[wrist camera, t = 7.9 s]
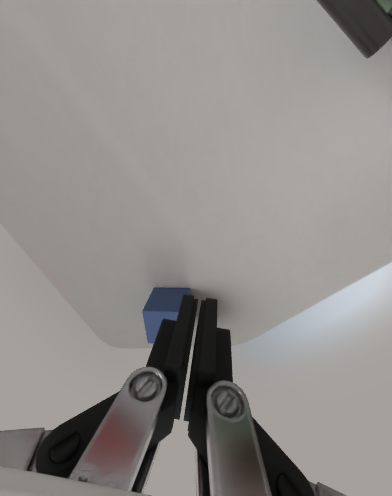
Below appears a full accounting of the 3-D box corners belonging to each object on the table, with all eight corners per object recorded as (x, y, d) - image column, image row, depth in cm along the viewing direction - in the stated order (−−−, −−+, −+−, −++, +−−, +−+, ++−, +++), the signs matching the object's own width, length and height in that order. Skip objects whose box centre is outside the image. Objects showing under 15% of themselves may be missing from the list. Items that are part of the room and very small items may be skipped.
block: (189, 288, 27) (184, 312, 23) (192, 317, 29) (187, 345, 25) (153, 287, 27) (142, 310, 23) (158, 316, 29) (147, 343, 25)
